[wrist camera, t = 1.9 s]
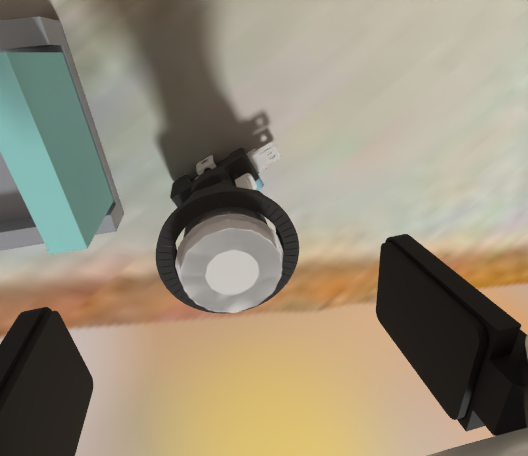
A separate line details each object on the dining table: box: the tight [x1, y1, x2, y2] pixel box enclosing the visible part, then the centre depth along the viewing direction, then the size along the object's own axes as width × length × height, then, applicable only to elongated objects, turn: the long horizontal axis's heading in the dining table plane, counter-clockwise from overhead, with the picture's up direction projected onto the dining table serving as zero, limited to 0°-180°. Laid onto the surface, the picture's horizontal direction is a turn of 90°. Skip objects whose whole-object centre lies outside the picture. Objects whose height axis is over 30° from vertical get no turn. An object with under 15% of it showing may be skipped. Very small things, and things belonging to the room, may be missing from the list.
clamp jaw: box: [0, 52, 113, 255], centre depth 15 cm, size 2×7×5 cm, turn 5°
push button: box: [156, 142, 299, 313], centre depth 16 cm, size 7×5×10 cm
